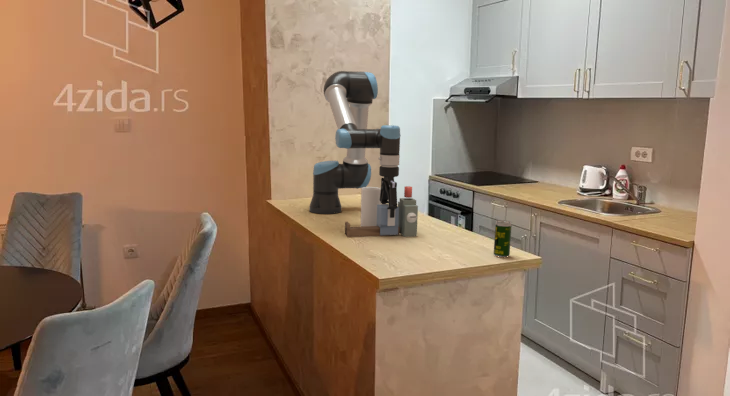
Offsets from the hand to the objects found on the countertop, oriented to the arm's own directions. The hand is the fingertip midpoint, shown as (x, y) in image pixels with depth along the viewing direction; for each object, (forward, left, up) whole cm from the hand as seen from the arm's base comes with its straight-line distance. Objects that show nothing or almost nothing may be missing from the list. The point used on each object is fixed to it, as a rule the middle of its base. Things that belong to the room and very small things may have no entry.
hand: (387, 222), depth 218 cm
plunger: (0, +8, +10) cm, 13 cm away
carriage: (0, 0, -5) cm, 5 cm away
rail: (0, -6, -5) cm, 8 cm away
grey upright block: (0, +8, -5) cm, 9 cm away
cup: (-15, -3, -5) cm, 16 cm away
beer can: (+36, +31, -5) cm, 48 cm away
